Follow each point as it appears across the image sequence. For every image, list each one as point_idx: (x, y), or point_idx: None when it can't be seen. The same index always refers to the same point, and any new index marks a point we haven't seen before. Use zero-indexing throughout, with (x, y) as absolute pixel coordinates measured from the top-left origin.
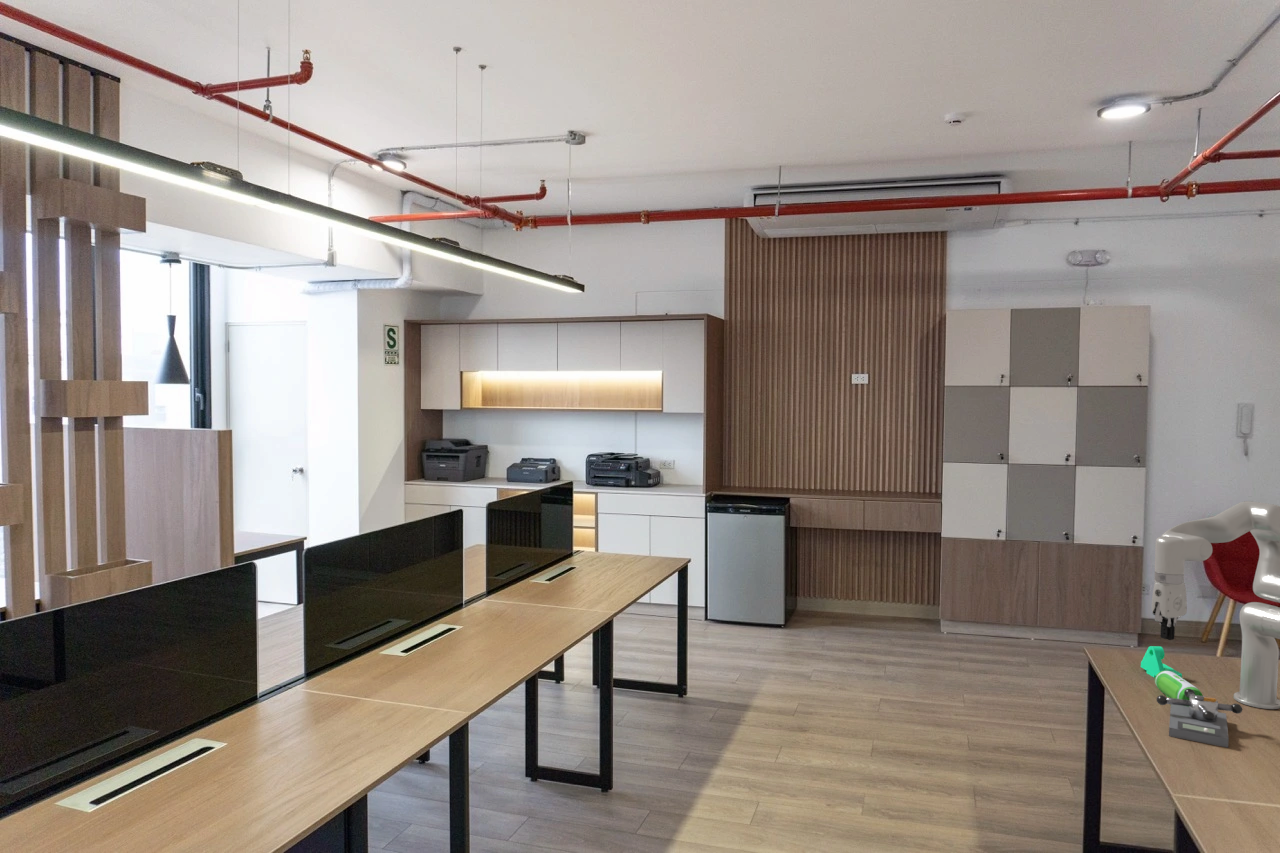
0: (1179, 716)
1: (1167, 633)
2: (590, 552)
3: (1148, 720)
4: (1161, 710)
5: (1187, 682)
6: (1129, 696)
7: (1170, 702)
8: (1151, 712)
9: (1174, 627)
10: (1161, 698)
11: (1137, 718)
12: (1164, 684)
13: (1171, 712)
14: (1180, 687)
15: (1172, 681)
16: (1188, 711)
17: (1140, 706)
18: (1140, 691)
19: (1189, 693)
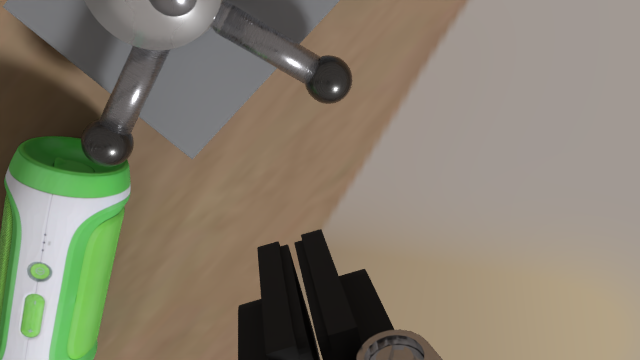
0: (272, 17)
1: (364, 289)
2: None
3: (360, 81)
4: (224, 165)
5: (29, 247)
6: (243, 300)
7: (306, 49)
8: (282, 152)
9: (270, 341)
10: (346, 69)
11: (386, 106)
12: (99, 308)
13: (272, 66)
14: (97, 217)
15: (76, 293)
16: (181, 64)
17: (278, 211)
18: (161, 340)
19: (131, 116)
